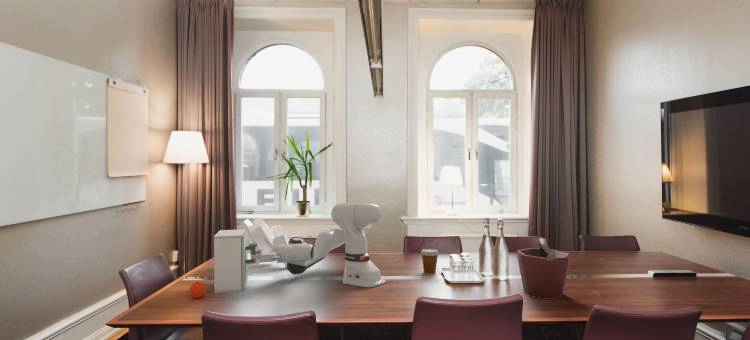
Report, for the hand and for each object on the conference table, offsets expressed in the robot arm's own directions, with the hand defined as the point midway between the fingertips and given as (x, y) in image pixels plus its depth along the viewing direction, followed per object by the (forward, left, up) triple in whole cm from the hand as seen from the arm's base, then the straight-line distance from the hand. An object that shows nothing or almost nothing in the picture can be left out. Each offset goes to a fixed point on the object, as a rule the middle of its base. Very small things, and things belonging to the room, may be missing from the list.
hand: (251, 254), depth 210 cm
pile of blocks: (+30, -28, -15) cm, 44 cm away
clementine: (+2, +26, -15) cm, 30 cm away
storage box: (+6, +8, -15) cm, 18 cm away
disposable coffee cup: (-52, -77, -15) cm, 94 cm away
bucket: (-112, -78, -15) cm, 138 cm away
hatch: (0, 0, -14) cm, 14 cm away
